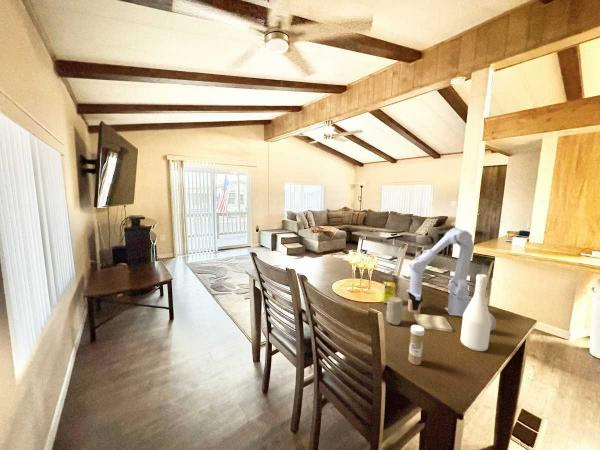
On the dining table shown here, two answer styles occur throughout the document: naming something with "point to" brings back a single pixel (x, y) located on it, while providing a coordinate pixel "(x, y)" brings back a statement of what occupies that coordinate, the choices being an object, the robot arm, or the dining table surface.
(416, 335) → the sprinkles bottle
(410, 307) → the peach cube
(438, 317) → the birch board
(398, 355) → the dining table surface
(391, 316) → the carving
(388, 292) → the supplement box
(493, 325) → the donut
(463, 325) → the wine bottle
